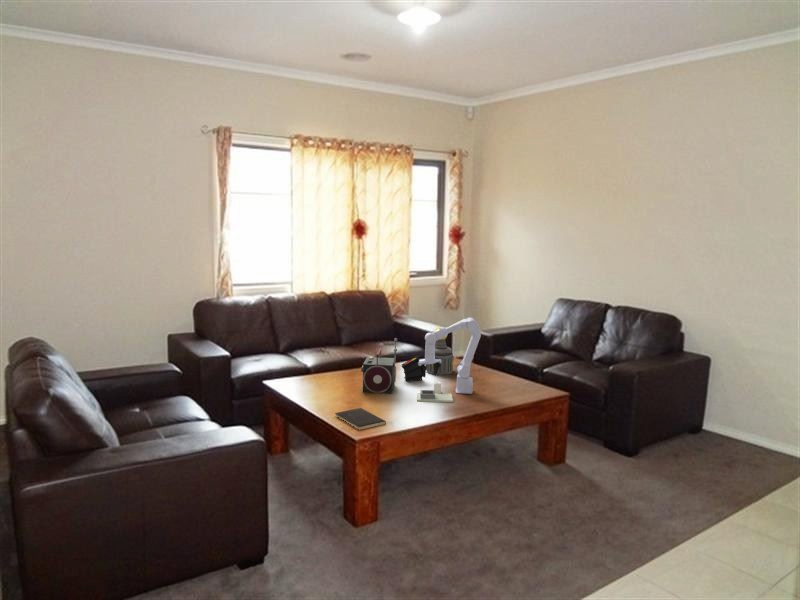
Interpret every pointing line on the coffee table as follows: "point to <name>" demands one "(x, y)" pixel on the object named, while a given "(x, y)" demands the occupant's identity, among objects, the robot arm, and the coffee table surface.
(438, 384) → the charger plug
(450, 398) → the plate
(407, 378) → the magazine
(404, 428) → the coffee table surface
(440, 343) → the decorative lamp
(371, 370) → the boombox
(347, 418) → the hardcover book
